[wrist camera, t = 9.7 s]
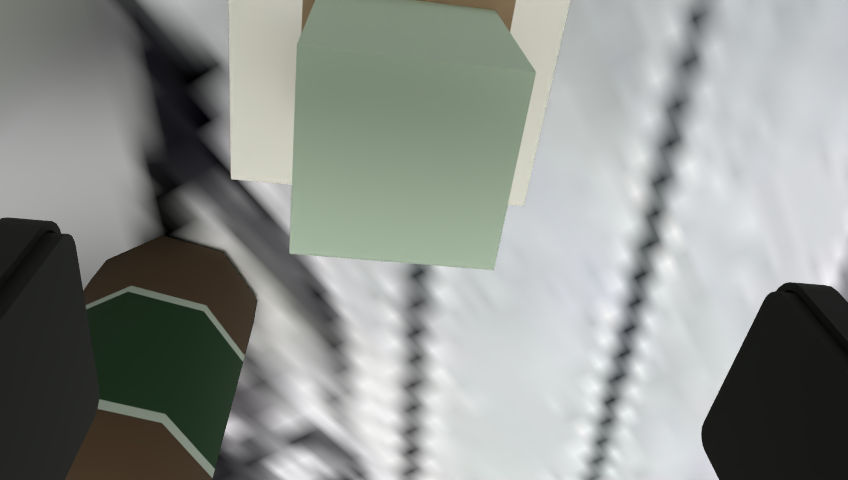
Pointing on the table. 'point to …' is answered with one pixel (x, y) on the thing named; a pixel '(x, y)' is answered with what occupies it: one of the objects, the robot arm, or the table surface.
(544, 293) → the table surface
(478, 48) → the sage block
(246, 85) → the base slab
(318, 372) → the table surface
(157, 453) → the beer bottle
